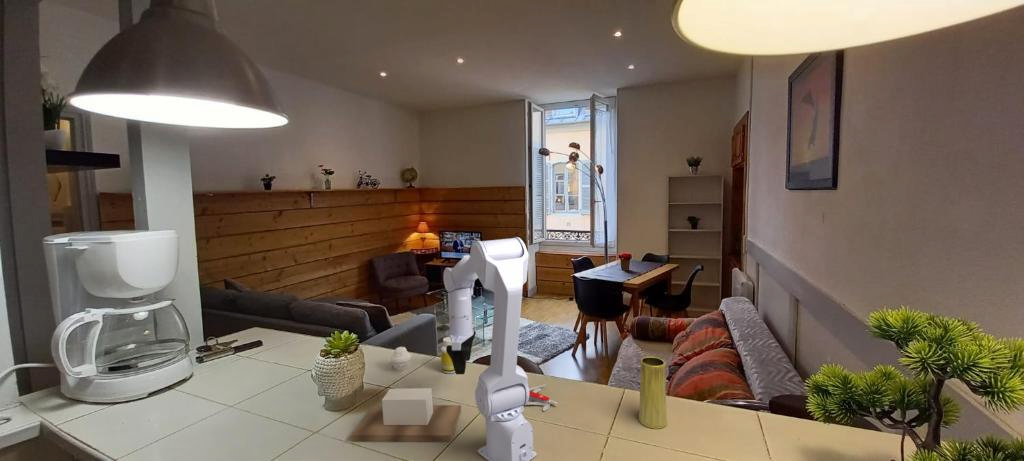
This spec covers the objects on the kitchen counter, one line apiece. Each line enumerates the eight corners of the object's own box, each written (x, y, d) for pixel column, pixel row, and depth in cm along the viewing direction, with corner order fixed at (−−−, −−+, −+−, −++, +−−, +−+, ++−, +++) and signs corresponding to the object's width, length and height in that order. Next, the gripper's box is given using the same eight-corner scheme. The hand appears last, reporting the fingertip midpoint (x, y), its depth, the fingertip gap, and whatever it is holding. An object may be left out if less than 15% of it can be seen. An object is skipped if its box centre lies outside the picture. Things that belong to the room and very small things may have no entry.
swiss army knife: (569, 397, 102) (569, 390, 102) (541, 422, 91) (541, 414, 91) (533, 385, 109) (532, 378, 109) (502, 407, 98) (502, 399, 98)
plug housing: (433, 412, 94) (431, 388, 93) (427, 425, 89) (425, 399, 88) (391, 412, 94) (390, 388, 94) (383, 425, 89) (381, 399, 89)
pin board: (461, 410, 97) (460, 393, 97) (451, 441, 85) (450, 422, 85) (373, 411, 98) (372, 393, 98) (351, 441, 86) (349, 422, 86)
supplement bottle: (456, 374, 116) (454, 342, 115) (439, 373, 118) (437, 341, 117) (462, 366, 122) (460, 335, 121) (445, 365, 123) (444, 335, 122)
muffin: (391, 366, 124) (389, 344, 123) (411, 363, 126) (410, 341, 125) (391, 374, 118) (389, 352, 117) (412, 371, 120) (411, 349, 119)
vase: (649, 431, 86) (649, 368, 85) (633, 416, 92) (633, 357, 91) (672, 426, 88) (673, 364, 87) (656, 411, 94) (656, 353, 92)
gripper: (450, 306, 106) (453, 354, 108) (437, 324, 92) (440, 380, 93) (476, 305, 106) (478, 354, 107) (467, 324, 91) (470, 380, 93)
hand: (463, 366), depth 100 cm, fingers open, 7 cm apart
